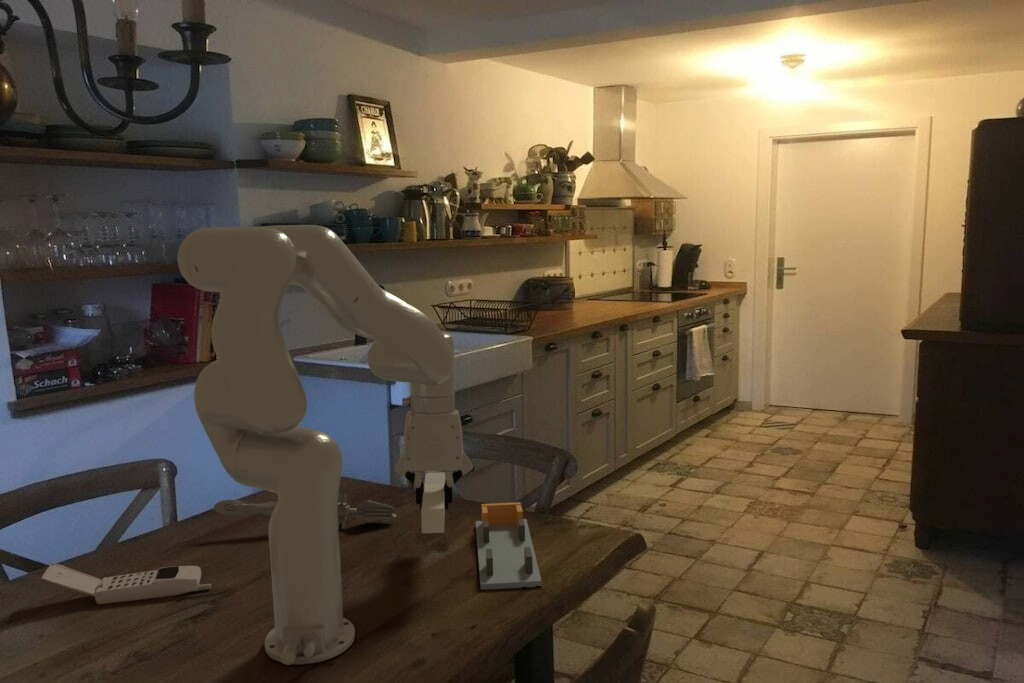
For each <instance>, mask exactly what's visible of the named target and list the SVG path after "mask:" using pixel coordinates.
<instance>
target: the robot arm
mask: <svg viewBox="0 0 1024 683" xmlns="http://www.w3.org/2000/svg"><path fill="white" fill-rule="evenodd" d="M177 265H178V268H179V272H180V274H181V275H182V277H183V278H184V280H185V281H186V282H187V283H188V284H189V285H190V286H193V288H195V289H196V290H197V289H198V290H200V291H203V292H210V293H222V294H221V297H220V299H219V302H218V305H217V307H216V310H215V313H214V316H213V319H212V323H211V329H210V336H211V344H212V346H213V347H212V348H213V350H214V353H215V356H216V358H217V359H216V360H214V361H212V362H210V363H209V364H207V365H206V366H205V367H203V369H202V370H201V371H200V373H199V374H198V377H197V379H196V382H195V387H194V390H193V392H194V393H193V396H194V407H195V411H196V414H197V416H198V419H199V421H200V423H201V425H202V427H203V429H204V432H205V434H206V435H207V437H208V440H209V441H210V443H211V445H212V447H213V450H214V451H215V454H216V455H217V458H218V459H219V462H220V464H221V465H222V467H223V468H224V470H225V471H226V473H227V474H228V475H229V477H230V478H231V479H232V480H234V482H236V483H238V484H240V485H241V486H245V487H249V488H253V489H257V490H263V491H267V492H270V493H272V494H273V493H274V494H277V497H278V502H277V501H276V502H277V505H276V507H275V509H274V511H273V513H272V516H270V519H269V522H268V523H269V524H268V544H269V554H270V555H269V558H270V572H271V588H272V601H273V602H272V603H273V619H274V628H272V629H271V630H270V631H269V632H268V633H267V635H266V636H265V639H264V650H265V653H266V654H267V656H268V657H269V658H271V659H272V660H274V661H277V662H278V663H279V662H280V663H282V664H284V665H286V666H289V665H310V664H311V665H312V664H317V663H320V662H323V661H327V660H329V659H333V658H335V657H336V656H339V655H340V654H342V653H343V652H345V651H347V650H348V648H350V647H351V645H352V644H353V643H354V641H355V637H356V633H355V632H356V630H355V629H356V628H355V626H354V624H353V623H352V622H351V621H350V620H348V619H347V618H345V617H344V609H343V606H344V605H343V594H342V593H343V592H342V591H343V589H342V575H341V574H342V572H341V569H342V568H341V554H340V553H341V552H340V536H339V529H338V494H339V489H340V483H341V477H342V469H343V456H342V450H341V448H340V447H339V446H340V445H338V442H337V441H336V440H335V439H334V438H333V437H331V436H330V435H329V434H327V433H325V432H323V431H321V430H318V429H313V428H310V427H306V426H299V425H300V424H301V423H302V422H303V420H304V419H305V417H306V413H307V412H308V411H307V409H308V402H307V395H306V391H305V389H304V386H303V383H302V381H301V379H300V376H299V374H298V371H297V369H296V368H297V367H296V366H295V364H294V362H293V361H294V360H293V359H292V357H291V354H290V352H289V349H288V346H287V344H286V341H285V339H284V338H285V337H284V336H283V333H282V332H283V331H282V330H281V324H280V314H281V310H282V304H283V302H284V299H285V295H286V292H287V291H288V289H289V287H290V285H291V286H293V285H294V286H299V287H301V288H302V289H303V290H304V291H305V292H306V293H307V295H308V296H310V297H311V298H312V300H313V301H315V303H316V304H317V305H318V307H320V308H321V309H322V311H324V312H325V314H326V315H327V316H328V317H329V318H330V319H331V320H332V322H333V323H335V324H336V326H338V327H339V328H341V329H343V330H344V331H348V332H349V333H351V334H354V335H357V336H359V337H362V338H364V339H365V338H366V339H367V340H368V339H369V340H372V341H374V342H373V343H372V344H371V346H370V348H369V350H368V352H367V360H366V361H367V365H368V367H369V370H370V371H371V373H373V375H374V376H375V377H378V378H379V379H381V380H385V381H388V382H390V381H391V382H397V383H398V382H399V383H410V395H408V397H402V399H401V401H402V402H401V403H402V407H404V406H406V407H408V408H409V409H410V410H409V411H407V413H406V414H405V421H404V430H403V452H402V454H401V456H400V457H399V459H398V460H397V462H396V464H395V466H394V469H393V470H394V472H395V473H397V474H399V475H400V476H402V477H405V479H406V480H407V481H408V482H410V483H411V484H412V485H413V486H414V488H415V505H419V510H420V511H421V508H422V500H423V492H424V481H423V480H422V479H423V473H441V472H445V484H444V494H445V511H446V510H447V511H449V504H453V487H454V486H455V483H457V482H458V481H459V479H460V478H462V477H464V475H466V474H468V473H470V472H471V471H473V470H474V465H473V463H472V461H471V460H470V458H469V457H468V455H467V454H466V452H465V450H464V441H463V428H462V421H461V415H460V412H459V410H457V409H456V408H455V407H456V406H455V404H456V403H455V402H456V401H455V395H456V394H455V392H456V391H455V384H456V383H455V342H454V338H453V336H452V335H451V334H450V333H449V332H448V333H447V332H443V331H441V329H440V328H439V327H438V326H437V325H436V323H435V322H434V321H433V320H432V319H431V318H430V317H429V316H428V315H426V314H425V313H423V312H422V311H420V309H417V308H416V307H414V306H413V305H411V304H409V303H408V302H405V301H404V300H402V299H401V298H399V297H397V296H396V295H394V294H392V293H390V292H388V291H387V290H385V289H383V288H382V287H381V286H379V285H378V284H377V282H376V281H375V279H374V278H373V277H372V276H371V274H369V272H368V271H367V269H365V267H364V266H363V265H362V264H361V262H360V261H359V260H358V259H357V258H356V256H355V255H354V254H353V252H351V250H350V249H349V248H348V246H347V245H346V244H345V243H344V242H343V240H342V239H341V238H340V237H339V236H338V234H336V232H334V231H333V230H332V229H330V228H328V227H325V226H323V225H317V224H291V225H290V224H287V225H286V224H285V225H284V224H283V225H282V224H279V225H263V226H252V225H251V226H224V227H223V226H221V227H220V226H219V227H218V226H217V227H213V226H212V227H209V226H208V227H202V228H198V229H196V230H194V231H192V232H190V233H189V234H188V235H187V236H186V237H185V238H184V239H183V241H182V242H181V243H180V246H179V248H178V252H177Z"/></svg>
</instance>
